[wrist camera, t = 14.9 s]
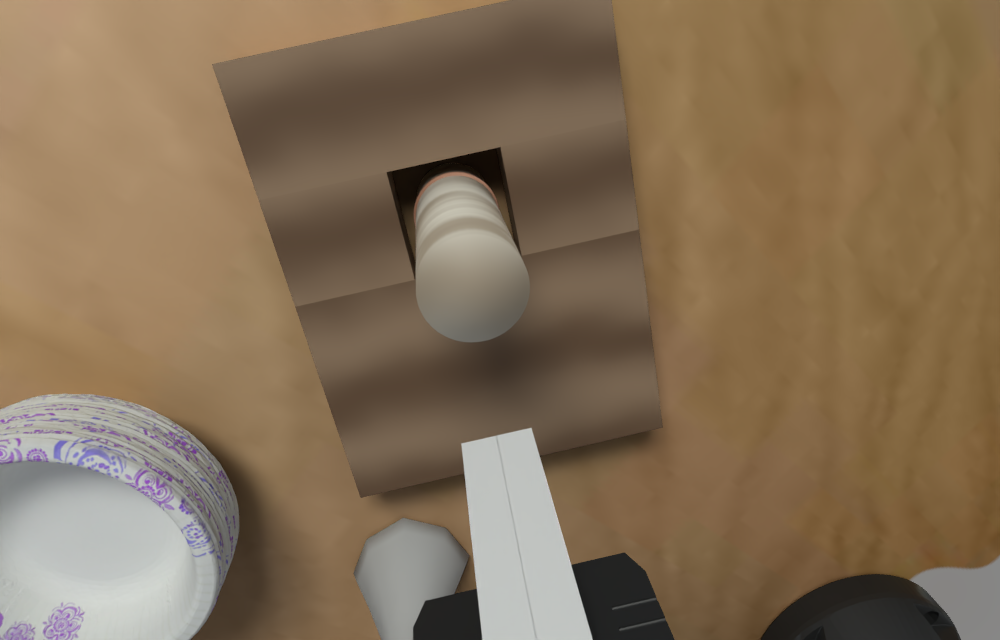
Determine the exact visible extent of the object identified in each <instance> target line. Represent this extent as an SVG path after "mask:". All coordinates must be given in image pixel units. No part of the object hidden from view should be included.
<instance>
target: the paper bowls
mask: <svg viewBox="0 0 1000 640" xmlns="http://www.w3.org/2000/svg"><path fill="white" fill-rule="evenodd" d="M238 535H239V509H238V503H237V499H236V495H235V493H234V490H233V488H232V485H231V483H230V481H229V479H228V477H227V475H226V473H225V471H224V469H223V468H222V466H221V464H220V463H219V462H218V460H217V459H216V458H215V457H214V456H213V455H212V454H211V453H210V452H209V451H208V450H207V448H206V447H205V446H204V445H203V444H202V443H201V442H200V441H199V440H198V439H197V438H196V437H194V436H193V435H192V434H191V433H189V432H188V431H187V430H185V429H183V428H182V427H180V426H179V425H178V424H176V423H174V422H173V421H171V420H170V419H168V418H166V417H164V416H162V415H160V414H158V413H156V412H155V411H152V410H150V409H148V408H146V407H143V406H141V405H138V404H134V403H131V402H127V401H123V400H119V399H115V398H110V397H105V396H98V395H91V394H54V395H43V396H38V397H33V398H29V399H26V400H23V401H21V402H18V403H15V404H13V405H10V406H7V407H5V408H3V409H1V410H0V640H190V639H191V638H192V637H193V636H194V635H195V634H196V633H198V631H199V630H200V629H201V627H202V626H203V625H204V623H205V622H206V621H207V619H208V617H209V615H210V614H211V612H212V611H213V609H214V607H215V604H216V602H217V599H218V595H219V592H220V590H221V587H222V585H223V583H224V580H225V578H226V575H227V572H228V569H229V567H230V564H231V562H232V559H233V555H234V552H235V548H236V544H237V540H238Z"/></svg>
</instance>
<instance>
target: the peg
mask: <svg viewBox="0 0 1000 640" xmlns="http://www.w3.org/2000/svg"><path fill="white" fill-rule="evenodd" d="M414 223H415V227H416V298H417V303H418V306H419V309H420V311H421V313H422V315H423V317H424V318H425V320H426V321H427V322H428V323H429V324H430V326H431V327H432V328H434V329H435V330H436V331H437V332H439V333H440V334H442V335H444V336H446V337H448V338H450V339H453V340H456V341H461V342H481V341H486V340H490V339H493V338H495V337H498V336H500V335H501V334H503V333H505V332H506V331H507V330H509V329H510V328H511V327H512V326H513V325H514V324H515V323H516V322H517V321H518V320H519V319H520V317H521V316H522V314H523V312H524V310H525V308H526V306H527V303H528V299H529V294H530V281H529V275H528V272H527V269H526V267H525V264H524V262H523V260H522V258H521V256H520V254H519V251H518V249H517V247H516V245H515V243H514V241H513V238H512V236H511V234H510V232H509V230H508V228H507V226H506V223H505V221H504V219H503V217H502V215H501V213H500V211H499V205H498V202H497V199H496V197H495V195H494V193H493V191H492V190H491V188H490V187H489V186H488V185H487V183H486V181H485V179H484V178H483V177H482V175H481V174H480V173H479V172H478V171H476V170H475V169H473V168H472V167H470V166H467V165H465V164H461V163H445V164H442V165H439V166H437V167H435V168H433V169H432V170H430V171H429V172H428V173H427V174H426V175H425V176H424V177H423V179H422V180H421V182H420V184H419V186H418V189H417V193H416V201H415V206H414Z"/></svg>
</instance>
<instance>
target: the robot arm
mask: <svg viewBox="0 0 1000 640" xmlns="http://www.w3.org/2000/svg"><path fill="white" fill-rule="evenodd" d="M461 445H462V454H463V464H464V473H465V482H466V492H467V501H468V510H469V519H470V529H471V538H472V547H473V557H474V566H475V575H476V585H477V589H474V590H470V591H465V592H461V593H457V594H452V595H448V596H444V597H439V598H435V599H431V600H426V601H425V602H424V604H423V607H422V609H421V611H420V613H419V615H418V618H417V620H416V622H415V624H414V626H413V640H674V638H673V635H672V633H671V630H670V628H669V626H668V623H667V622H666V620H665V616H664V614H663V612H662V609H661V607H660V605H659V602H658V601H657V599H656V595H655V593H654V590H653V588H652V586H651V583H650V581H649V579H648V576H647V574H646V572H645V570H643V569H642V568H641V567H640V566H639V565H638V564H637V563H636V562H635V561H633V560H632V559H631V558H630V557H629V556H628V555H627V554H626V553H621V554H616V555H612V556H608V557H603V558H599V559H595V560H590V561H586V562H582V563H578V564H573V565H571V563H570V559H569V556H568V552H567V549H566V546H565V542H564V539H563V535H562V532H561V528H560V525H559V521H558V518H557V514H556V511H555V508H554V504H553V501H552V497H551V494H550V490H549V487H548V483H547V480H546V476H545V473H544V470H543V466H542V463H541V459H540V456H539V452H538V449H537V445H536V442H535V439H534V435H533V432H532V428H528V429H523V430H519V431H515V432H510V433H506V434H501V435H497V436H493V437H488V438H484V439H479V440H475V441H470V442H466V443H462V444H461ZM761 640H961V639H960V636H959V634H958V632H957V630H956V627H955V625H954V624H953V622H952V621H951V619H950V617H949V616H948V615H947V613H946V612H945V611H944V610H943V609H942V608H941V607H940V606H939V605H938V604H937V602H936V601H935V600H934V599H933V598H932V597H931V596H930V595H929V594H928V593H927V591H925V590H924V589H923V588H922V587H920V586H919V585H917V584H916V583H914V582H912V581H909V580H907V579H904V578H901V577H897V576H891V575H880V574H872V575H860V576H854V577H849V578H845V579H841V580H838V581H835V582H832V583H830V584H827V585H824V586H822V587H820V588H818V589H816V590H814V591H812V592H810V593H808V594H807V595H805V596H803V597H802V598H800V599H799V600H797V601H796V602H795V603H793V604H792V605H791V606H789V607H788V608H787V609H786V610H785V611H784V612H782V613H781V614H780V615H779V616H778V617H777V618H776V619H775V621H774V622H773V623H772V624H771V625H770V627H769V628H768V629H767V631H766V632H765V634H764V635H763V637H762V639H761Z"/></svg>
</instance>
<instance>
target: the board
mask: <svg viewBox="0 0 1000 640" xmlns="http://www.w3.org/2000/svg"><path fill="white" fill-rule="evenodd" d="M212 65H213V68H214V71H215V74H216V77H217V80H218V83H219V86H220V89H221V92H222V94H223V97H224V100H225V103H226V106H227V109H228V112H229V115H230V118H231V121H232V124H233V127H234V129H235V132H236V135H237V138H238V141H239V144H240V147H241V150H242V153H243V156H244V159H245V161H246V164H247V167H248V170H249V173H250V176H251V179H252V182H253V185H254V188H255V191H256V194H257V196H258V199H259V202H260V205H261V208H262V211H263V214H264V217H265V220H266V223H267V226H268V229H269V231H270V234H271V237H272V240H273V243H274V246H275V249H276V252H277V255H278V258H279V261H280V264H281V266H282V269H283V272H284V275H285V278H286V281H287V284H288V287H289V290H290V293H291V296H292V299H293V301H294V304H295V307H296V310H297V313H298V316H299V319H300V322H301V325H302V328H303V331H304V333H305V336H306V339H307V342H308V345H309V348H310V351H311V354H312V357H313V360H314V363H315V366H316V368H317V371H318V374H319V377H320V380H321V383H322V386H323V389H324V392H325V395H326V398H327V401H328V403H329V406H330V409H331V412H332V415H333V418H334V421H335V424H336V427H337V430H338V433H339V436H340V438H341V441H342V444H343V447H344V450H345V453H346V456H347V459H348V462H349V465H350V468H351V471H352V473H353V476H354V479H355V482H356V485H357V488H358V491H359V494H360V497H361V498H362V497H366V496H371V495H375V494H379V493H383V492H388V491H392V490H396V489H401V488H405V487H409V486H414V485H418V484H422V483H426V482H431V481H435V480H439V479H444V478H448V477H452V476H457V475H461V474H465V473H464V464H463V454H462V445H461V444H462V443H466V442H470V441H475V440H479V439H484V438H488V437H493V436H497V435H501V434H506V433H510V432H515V431H519V430H523V429H528V428H532V432H533V435H534V439H535V442H536V445H537V449H538V452H539V456H542V455H547V454H551V453H555V452H560V451H564V450H568V449H573V448H577V447H581V446H585V445H590V444H594V443H598V442H603V441H607V440H611V439H616V438H620V437H624V436H628V435H633V434H637V433H641V432H646V431H650V430H654V429H658V428H663V426H662V418H661V410H660V401H659V393H658V385H657V376H656V368H655V359H654V351H653V343H652V334H651V326H650V318H649V309H648V301H647V293H646V284H645V276H644V267H643V259H642V251H641V242H640V234H639V226H638V217H637V209H636V200H635V192H634V184H633V175H632V167H631V159H630V150H629V142H628V133H627V125H626V117H625V108H624V100H623V92H622V83H621V75H620V66H619V58H618V50H617V41H616V33H615V25H614V16H613V8H612V0H509V1H505V2H500V3H495V4H491V5H486V6H481V7H477V8H472V9H467V10H463V11H458V12H453V13H449V14H444V15H439V16H435V17H430V18H425V19H421V20H416V21H411V22H407V23H402V24H397V25H393V26H388V27H383V28H379V29H374V30H370V31H365V32H360V33H356V34H351V35H346V36H342V37H337V38H332V39H328V40H323V41H318V42H314V43H309V44H304V45H300V46H295V47H290V48H286V49H281V50H276V51H272V52H267V53H262V54H258V55H253V56H248V57H244V58H239V59H235V60H230V61H225V62H221V63H216V64H212ZM494 148H496V150H497V155H498V161H499V166H500V171H501V176H502V181H503V186H504V191H505V196H506V201H507V206H508V212H509V217H510V222H511V227H512V232H513V237H514V240H513V241H514V243H515V245H516V247H517V249H518V251H519V254H520V256H521V258H522V260H523V262H524V264H525V267H526V269H527V272H528V275H529V281H530V294H529V299H528V303H527V306H526V308H525V310H524V312H523V314H522V316H521V317H520V319H519V320H518V321H517V322H516V323H515V324H514V325H513V326H512V327H511V328H510V329H509V330H507V331H506V332H505V333H503V334H501V335H500V336H498V337H495V338H493V339H490V340H486V341H481V342H461V341H456V340H453V339H450V338H448V337H446V336H444V335H442V334H440V333H439V332H437V331H436V330H435V329H434V328H432V327H431V326H430V324H429V323H428V322H427V321H426V320H425V318H424V317H423V315H422V313H421V311H420V309H419V306H418V303H417V298H416V262H415V261H414V257H413V253H412V249H411V245H410V242H409V238H408V234H407V230H406V226H405V222H404V218H403V215H402V211H401V207H400V203H399V199H398V195H397V192H396V188H395V184H394V180H393V176H392V172H391V171H394V170H398V169H403V168H408V167H412V166H417V165H421V164H426V163H430V162H435V161H439V160H444V159H448V158H453V157H457V156H462V155H467V154H471V153H476V152H480V151H485V150H489V149H494Z"/></svg>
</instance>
